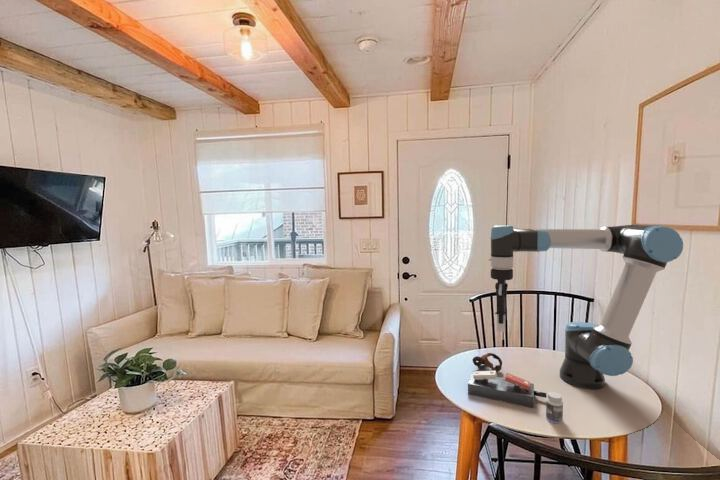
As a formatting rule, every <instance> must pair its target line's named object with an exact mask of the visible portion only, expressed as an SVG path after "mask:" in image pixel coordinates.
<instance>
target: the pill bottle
mask: <svg viewBox="0 0 720 480" xmlns="http://www.w3.org/2000/svg"><path fill="white" fill-rule="evenodd" d="M545 402H546V403H545V404H546V405H545V406H546V407H545V418H546V420H548V421H549V422H551V423H553V424H562V422H563V416H564V412H563V411H564V403H563V396H562V394H561V393H558V392H556V391H549V392H548V393H547V397H546V401H545Z"/></svg>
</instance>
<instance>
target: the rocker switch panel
mask: <svg viewBox="0 0 720 480" xmlns="http://www.w3.org/2000/svg"><path fill="white" fill-rule="evenodd" d="M473 374H474V371H472V372H471V374H470V377H469V379H468V382H467V395H471V396H476V397H481V398H486V399H490V400H495V401H499V402H503V403H506V404H507V403H508V404H513V405H517V406H522V407H526V408H531V409H534V404H535V403H534V402H535V400H534V399H535V397H540V398H546V399H547V392H542V391H537V390H535V384H534V383H531V382H530V387H529V390H526V389H524V388H521V387H519V386H516V385H514V384H512V383H509V382H507V381H505V377H499V376H496V379H485V380H484V379H477V380H474V377H473Z"/></svg>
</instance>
